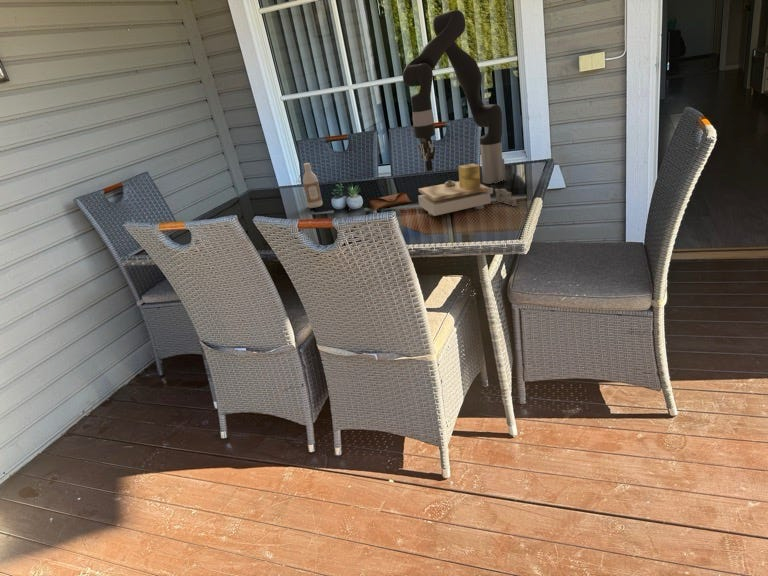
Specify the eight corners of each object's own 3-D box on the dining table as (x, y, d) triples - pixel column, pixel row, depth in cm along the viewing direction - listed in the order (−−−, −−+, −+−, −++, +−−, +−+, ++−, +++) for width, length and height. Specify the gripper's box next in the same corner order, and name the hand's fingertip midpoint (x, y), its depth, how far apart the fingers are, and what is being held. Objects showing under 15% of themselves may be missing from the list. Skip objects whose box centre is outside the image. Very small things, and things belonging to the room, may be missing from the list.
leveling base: (471, 197, 214) (470, 178, 211) (494, 208, 195) (492, 188, 192) (418, 209, 210) (416, 190, 207) (436, 222, 191) (433, 201, 188)
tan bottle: (309, 209, 238) (299, 166, 230) (307, 205, 245) (298, 163, 236) (323, 206, 239) (314, 163, 231) (322, 202, 246) (313, 161, 237)
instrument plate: (471, 182, 210) (469, 159, 206) (490, 191, 194) (489, 165, 190) (418, 192, 206) (416, 168, 202) (433, 201, 190) (431, 176, 186)
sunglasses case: (374, 211, 218) (369, 196, 218) (371, 216, 224) (367, 201, 225) (413, 202, 222) (409, 187, 222) (409, 207, 228) (405, 193, 229)
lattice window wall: (517, 206, 194) (516, 191, 191) (513, 207, 193) (512, 192, 191) (498, 201, 204) (497, 186, 201) (494, 202, 203) (493, 187, 201)
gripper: (439, 122, 182) (444, 171, 189) (427, 120, 194) (432, 165, 201) (419, 126, 181) (425, 175, 188) (408, 123, 192) (414, 169, 200)
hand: (429, 170), depth 194 cm, fingers closed
